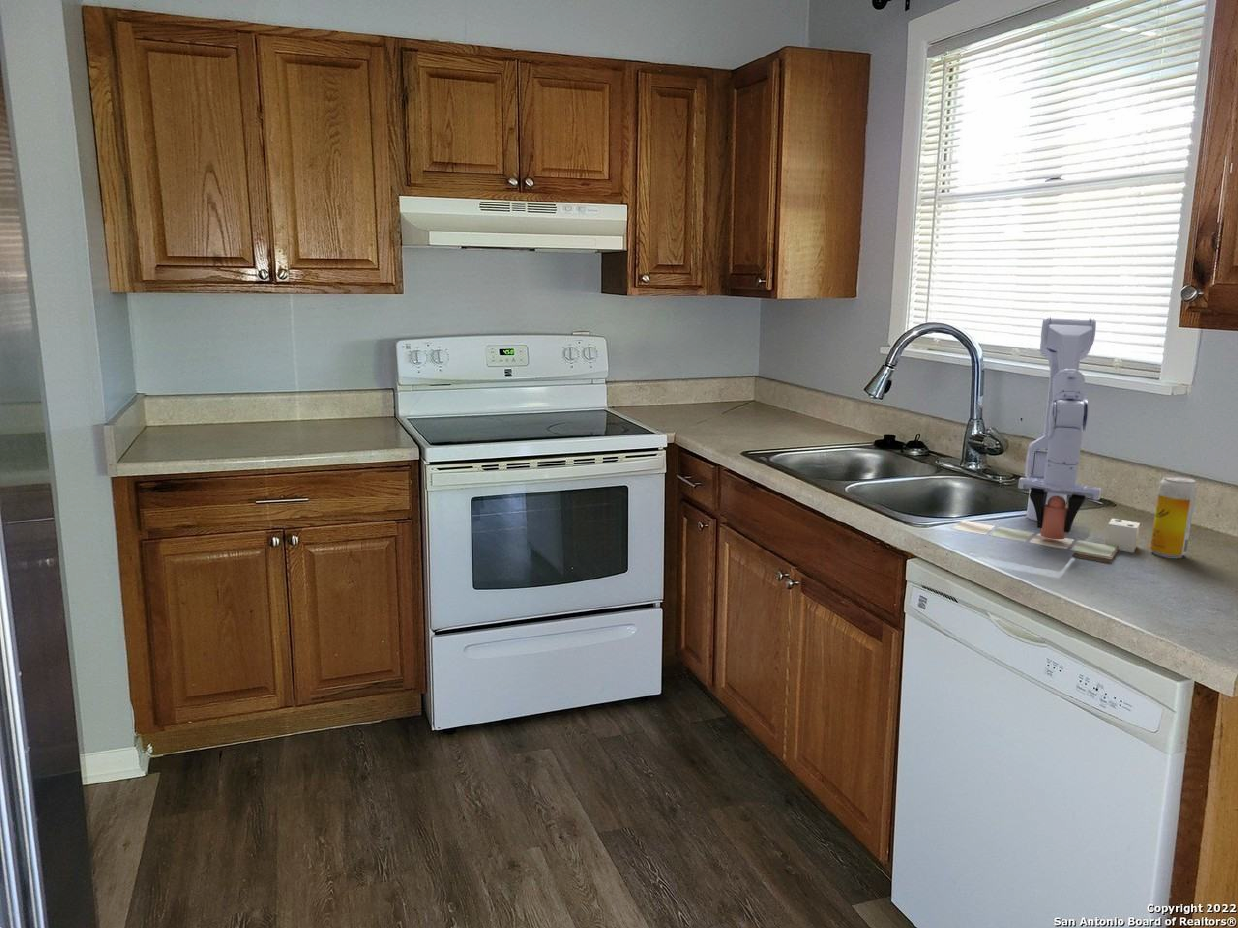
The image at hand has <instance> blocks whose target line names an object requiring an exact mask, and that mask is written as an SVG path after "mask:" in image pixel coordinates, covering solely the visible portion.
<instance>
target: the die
mask: <svg viewBox="0 0 1238 928" xmlns="http://www.w3.org/2000/svg"><path fill="white" fill-rule="evenodd" d="M1140 525H1141V522H1136V521H1129V520H1124V519H1118V518H1111V519H1110V520H1109V522H1108V524H1107V530H1106V538H1105V544H1104V545H1110V546H1116V547H1119V550H1118V551H1123V552H1128V553H1134V552H1135V551H1136V549H1137V546H1138V540H1139V539H1138V538H1139V534H1140Z"/></svg>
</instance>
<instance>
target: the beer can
mask: <svg viewBox="0 0 1238 928" xmlns="http://www.w3.org/2000/svg"><path fill="white" fill-rule="evenodd" d="M1158 487H1159V488H1158V493H1157V499H1156V507H1155V514H1154V518H1153V525H1152V533H1151V540H1150V545H1149V549H1151V551H1152V553H1153V554H1154V555H1155V556H1159V557H1163V558H1169V559H1181V558H1183V556H1185V555H1186V554H1187V552H1188V551H1187V549H1188V544H1189V539H1190V538H1189V536H1190V532H1191V525H1192V519H1193V513H1194V506H1195V501H1196V495H1197V494H1196V493H1197V488H1198V486H1197V484H1196V480H1195V479H1192V478H1190V477H1184V476H1179V475H1178V476H1176V475H1166V476H1163V477H1162V479H1161V481H1160V482H1159V485H1158Z"/></svg>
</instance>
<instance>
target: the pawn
mask: <svg viewBox="0 0 1238 928" xmlns="http://www.w3.org/2000/svg"><path fill="white" fill-rule="evenodd" d="M1066 504H1067V501H1066V502H1065V500H1064V498H1062V497H1061V496H1052V497H1051V498H1050V499H1049V500H1048V504H1045V505H1044V510H1043V518H1042V527H1041V528H1040V534H1041V536H1043V537H1046V538H1050V539H1064V538H1066V532H1065V525H1066V520H1067V514H1068V505H1067V506H1066Z"/></svg>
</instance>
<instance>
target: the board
mask: <svg viewBox="0 0 1238 928" xmlns="http://www.w3.org/2000/svg"><path fill="white" fill-rule="evenodd" d="M996 527H997V526H996V525H993V524H992V525H991V524H985V523H982V522H975V521H968V520H963V519H962V520H961V521H959V522H958V523H957V524H955V525H954V526H953V527H951V528H950V529H951V530H955V531H961V532H967V533H972V534H973V533H974V534H978V535H982V536H983V535H988V534H989V533H990V532H991V531H992V530H993V529H995V528H996ZM1034 534H1035V532H1033V531H1029V530H1028V531H1027V530H1021V529H1015V528H1009V527H1004V526H998V527H997V528H996V529H995V530H994V531H992V532H991V534H989V535H988V536H989V537H995V538H1001V539H1007V540H1011V541H1012V540H1013V541H1018V542H1024V543H1026V542H1027V541H1028V540H1029V538H1031V537H1032V536H1033V535H1034ZM1074 541H1075V539H1072V538H1067V537H1065V538H1064V539H1050V538H1046V537H1043V536H1041V532H1040V533H1039V532H1038V533H1037V534H1036V535H1035V536H1034V537H1033V538H1032V539H1031V540H1030V541H1029V542H1028V543H1029V544H1034V545H1040V546H1046V547H1052V548H1056V549H1057V548H1058V549H1062V550H1063V549H1064V550H1067V549H1068V548H1069V547H1070V546H1071V545H1072V543H1074ZM1070 551H1074V553H1073V554H1072V555H1071V557H1074V558H1080V559H1085V560H1091V561H1095V562H1096V561H1097V562H1101V563H1107V564H1112V562H1113V561H1114V559H1115V558H1116V556H1117V554H1118V553H1119V551H1120V550H1119V547H1116V546H1110V545H1105V544H1104V543H1097V542H1091V541H1086V540H1080V539H1078V540H1077V541H1076V542H1075V544H1074V545H1073V546H1072V548H1071V549H1070Z"/></svg>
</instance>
